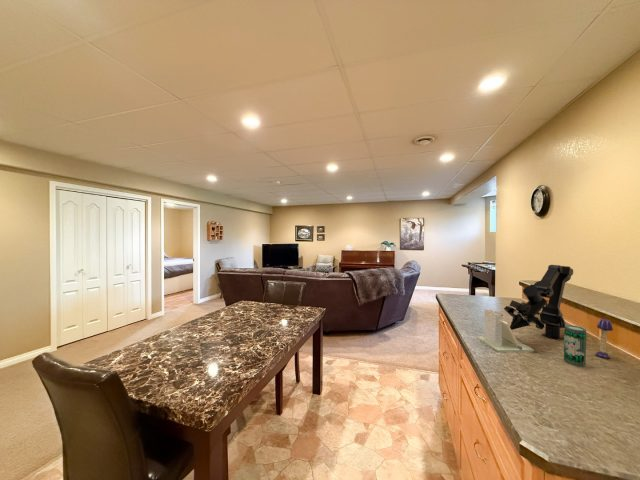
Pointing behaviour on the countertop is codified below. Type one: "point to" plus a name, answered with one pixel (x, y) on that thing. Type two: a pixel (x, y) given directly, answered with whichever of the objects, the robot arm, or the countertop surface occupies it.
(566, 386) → the countertop surface
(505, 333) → the hinged cream panel
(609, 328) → the toy lamp
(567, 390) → the countertop surface
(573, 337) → the can
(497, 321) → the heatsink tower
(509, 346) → the pale green base plate
